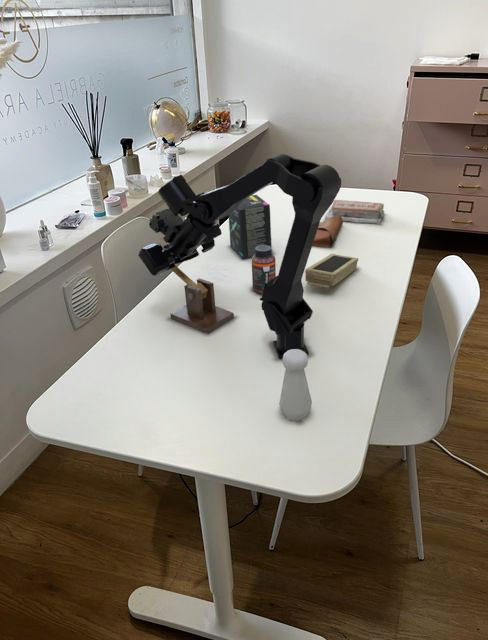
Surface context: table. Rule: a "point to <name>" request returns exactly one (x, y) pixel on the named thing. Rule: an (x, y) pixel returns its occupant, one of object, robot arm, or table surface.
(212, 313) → the switch bracket
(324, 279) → the box
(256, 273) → the supplement bottle
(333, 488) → the table surface
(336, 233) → the sunglasses case
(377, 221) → the packaged product
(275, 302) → the robot arm
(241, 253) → the tampon box
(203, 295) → the lever
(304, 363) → the salt shaker
